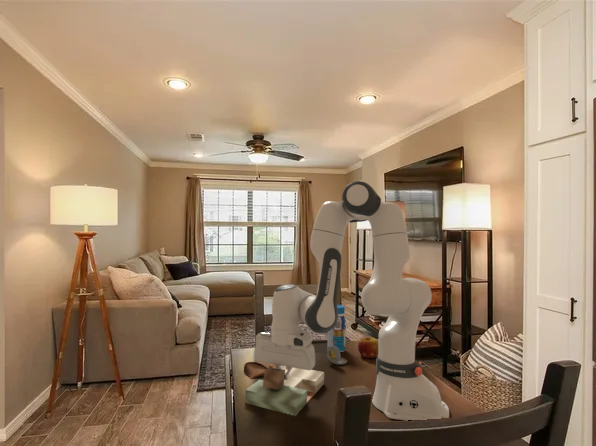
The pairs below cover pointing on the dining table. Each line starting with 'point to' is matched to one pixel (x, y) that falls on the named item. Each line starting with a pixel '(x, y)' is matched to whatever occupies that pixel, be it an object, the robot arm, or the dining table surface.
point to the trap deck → (287, 391)
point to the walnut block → (274, 378)
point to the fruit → (368, 347)
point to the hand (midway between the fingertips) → (283, 378)
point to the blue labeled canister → (338, 331)
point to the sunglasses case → (256, 369)
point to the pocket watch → (335, 355)
